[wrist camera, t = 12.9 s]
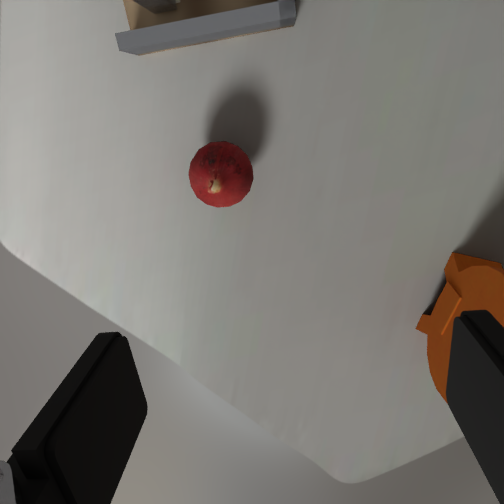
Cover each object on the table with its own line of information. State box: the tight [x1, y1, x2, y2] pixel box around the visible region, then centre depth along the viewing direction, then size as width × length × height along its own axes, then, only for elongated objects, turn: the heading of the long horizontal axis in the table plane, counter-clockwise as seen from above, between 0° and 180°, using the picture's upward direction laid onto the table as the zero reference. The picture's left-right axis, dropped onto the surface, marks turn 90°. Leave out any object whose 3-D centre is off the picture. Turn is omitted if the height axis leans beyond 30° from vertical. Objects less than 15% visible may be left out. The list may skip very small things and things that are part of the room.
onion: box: [189, 141, 253, 207], centre depth 34 cm, size 6×6×8 cm
